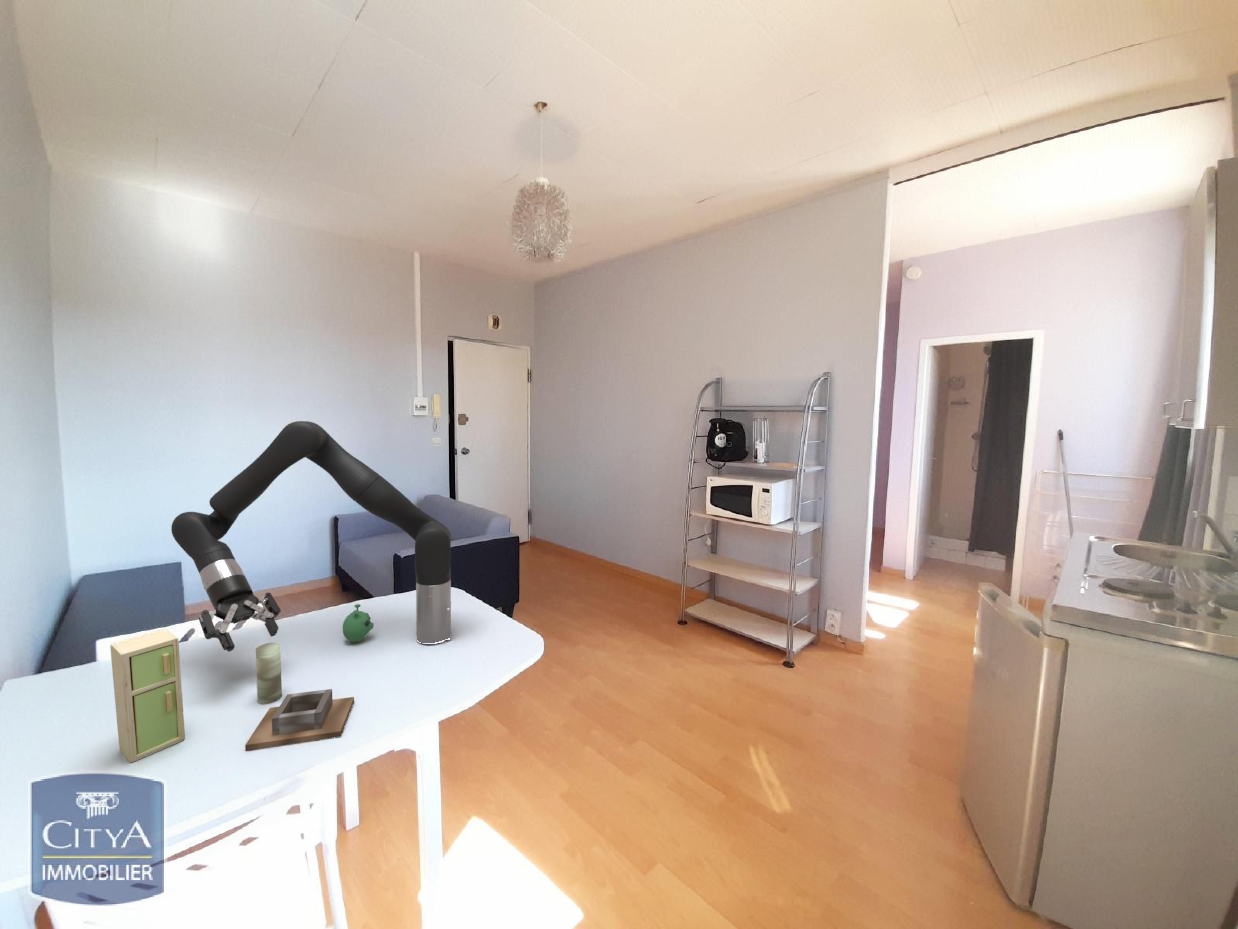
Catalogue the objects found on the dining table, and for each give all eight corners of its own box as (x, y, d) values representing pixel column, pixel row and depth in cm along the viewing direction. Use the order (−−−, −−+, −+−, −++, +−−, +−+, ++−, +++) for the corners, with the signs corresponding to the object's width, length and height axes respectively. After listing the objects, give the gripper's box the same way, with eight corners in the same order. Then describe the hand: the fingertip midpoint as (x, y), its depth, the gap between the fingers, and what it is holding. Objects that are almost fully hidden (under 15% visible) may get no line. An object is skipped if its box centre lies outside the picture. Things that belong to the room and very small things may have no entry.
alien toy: (372, 644, 133) (372, 610, 132) (341, 648, 130) (340, 613, 129) (374, 633, 139) (374, 600, 138) (344, 637, 136) (344, 603, 135)
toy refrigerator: (129, 766, 86) (121, 655, 83) (117, 750, 89) (109, 643, 87) (187, 741, 92) (181, 638, 90) (173, 727, 96) (167, 627, 94)
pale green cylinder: (284, 691, 110) (283, 641, 108) (277, 702, 105) (275, 650, 104) (262, 694, 108) (260, 643, 107) (254, 705, 104) (251, 653, 103)
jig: (354, 701, 107) (353, 682, 106) (340, 736, 95) (340, 714, 95) (269, 713, 102) (269, 692, 101) (245, 751, 90) (244, 727, 90)
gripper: (192, 583, 105) (221, 646, 101) (265, 566, 117) (293, 621, 113) (182, 601, 108) (210, 663, 104) (254, 583, 120) (281, 637, 116)
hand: (253, 641), depth 108 cm, fingers open, 8 cm apart
